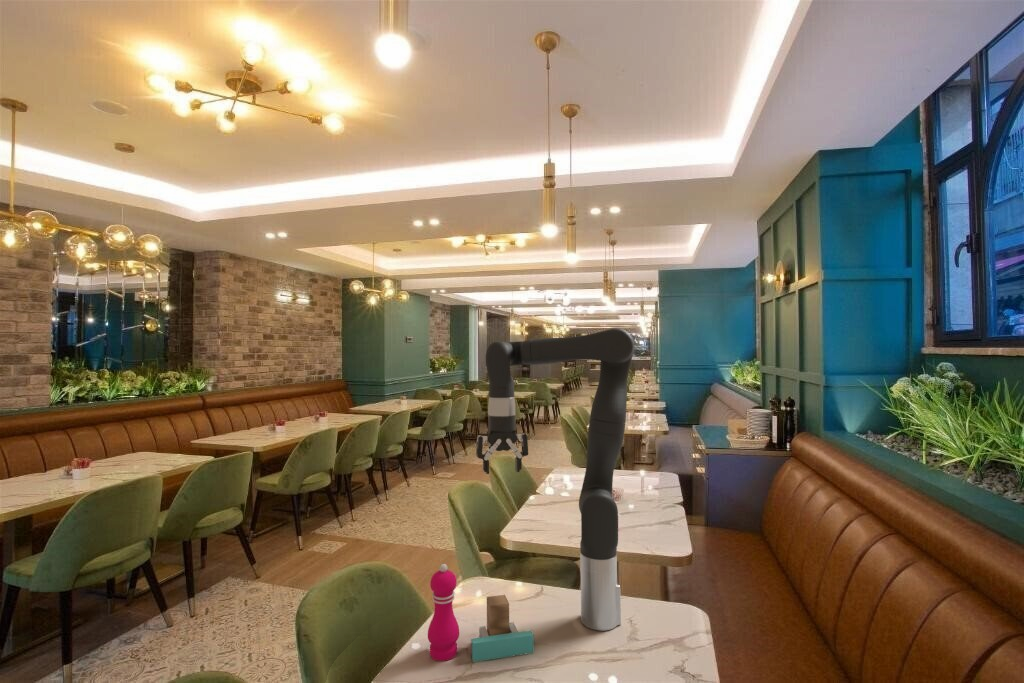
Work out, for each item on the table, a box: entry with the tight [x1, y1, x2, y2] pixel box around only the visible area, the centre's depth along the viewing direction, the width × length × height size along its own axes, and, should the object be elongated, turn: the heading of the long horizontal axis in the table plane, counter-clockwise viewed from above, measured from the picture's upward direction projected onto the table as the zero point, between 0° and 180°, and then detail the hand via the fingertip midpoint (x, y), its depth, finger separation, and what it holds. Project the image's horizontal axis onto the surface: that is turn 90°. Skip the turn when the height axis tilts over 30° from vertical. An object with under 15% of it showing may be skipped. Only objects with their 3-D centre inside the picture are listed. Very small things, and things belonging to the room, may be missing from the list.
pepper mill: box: [427, 563, 460, 662], centre depth 113 cm, size 7×7×20 cm
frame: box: [478, 621, 519, 638], centre depth 116 cm, size 8×6×3 cm
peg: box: [486, 594, 510, 636], centre depth 117 cm, size 4×4×10 cm
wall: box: [471, 630, 535, 663], centre depth 112 cm, size 14×2×4 cm, turn 103°
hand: (502, 472), depth 136 cm, fingers open, 8 cm apart
